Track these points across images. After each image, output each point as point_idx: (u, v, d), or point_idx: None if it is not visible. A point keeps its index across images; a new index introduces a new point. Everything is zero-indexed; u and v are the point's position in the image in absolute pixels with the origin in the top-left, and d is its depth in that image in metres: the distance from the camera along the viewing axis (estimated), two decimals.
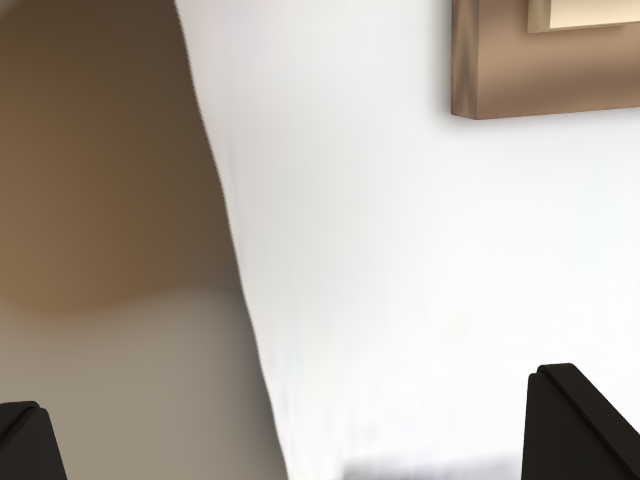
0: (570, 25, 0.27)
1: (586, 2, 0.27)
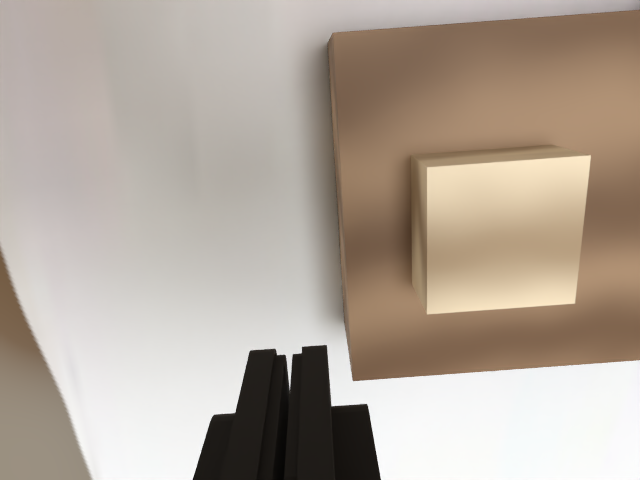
0: (455, 310, 0.20)
1: (476, 284, 0.19)
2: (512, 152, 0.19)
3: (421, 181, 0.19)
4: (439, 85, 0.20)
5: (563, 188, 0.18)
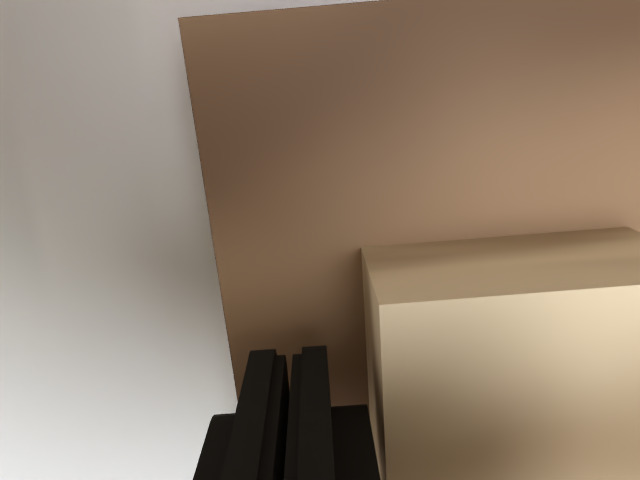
0: None
1: None
2: (557, 251, 0.10)
3: (373, 318, 0.09)
4: (397, 119, 0.10)
5: None
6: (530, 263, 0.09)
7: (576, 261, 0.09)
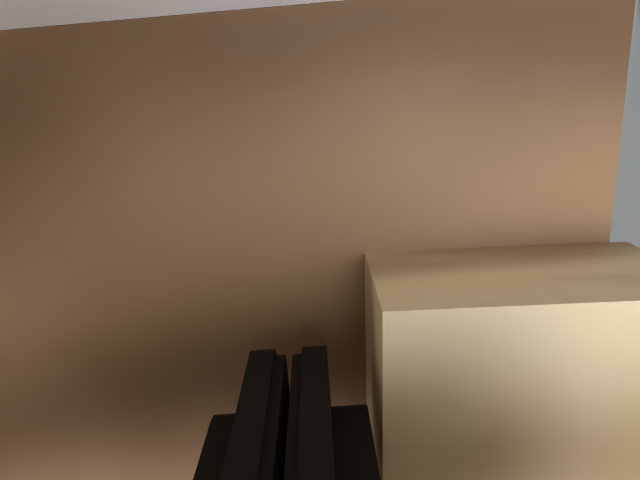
0: None
1: None
2: (558, 264, 0.10)
3: (375, 324, 0.09)
4: (64, 144, 0.10)
5: None
6: (531, 275, 0.09)
7: (576, 275, 0.09)
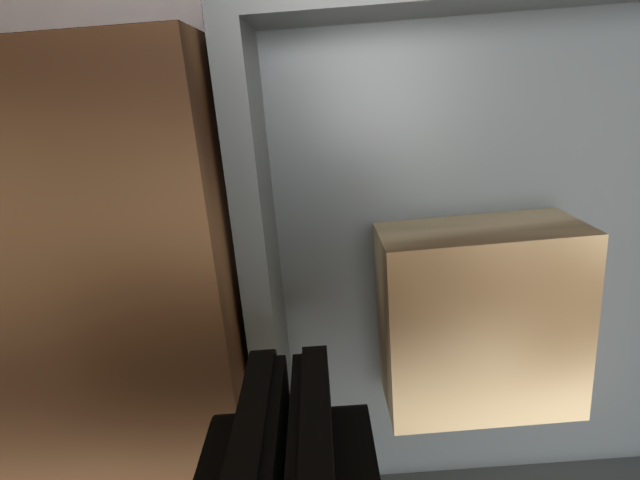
0: None
1: None
2: (453, 233, 0.14)
3: None
4: None
5: None
6: (474, 226, 0.15)
7: (445, 227, 0.15)
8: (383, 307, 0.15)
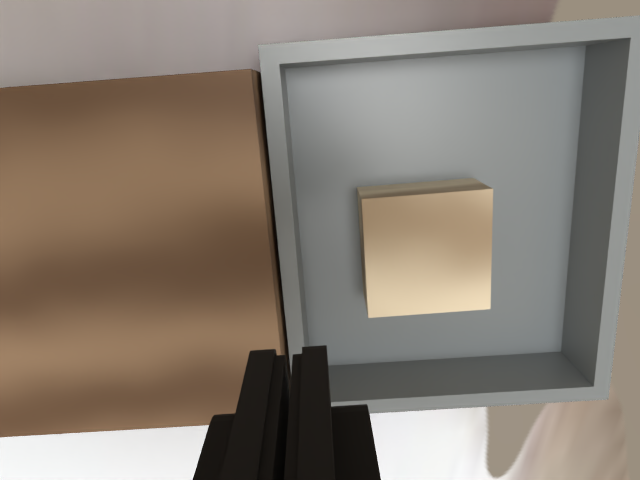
0: None
1: None
2: (404, 190, 0.23)
3: None
4: None
5: None
6: (418, 187, 0.24)
7: (400, 188, 0.24)
8: (362, 237, 0.24)
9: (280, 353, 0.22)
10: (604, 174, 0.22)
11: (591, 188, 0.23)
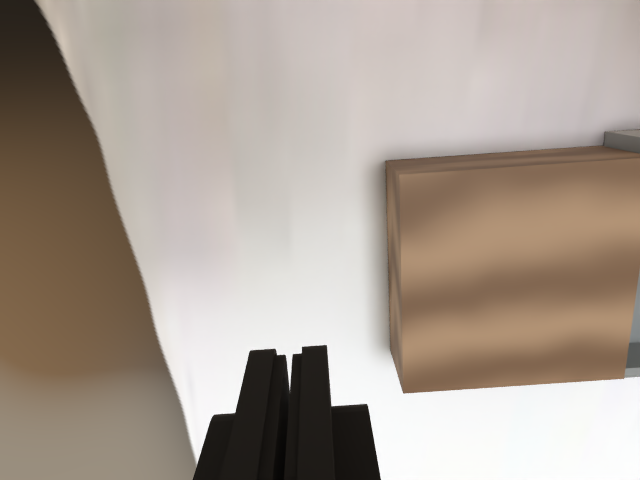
0: None
1: None
2: None
3: None
4: (465, 205, 0.31)
5: None
6: None
7: None
8: None
9: (629, 333, 0.34)
10: None
11: None
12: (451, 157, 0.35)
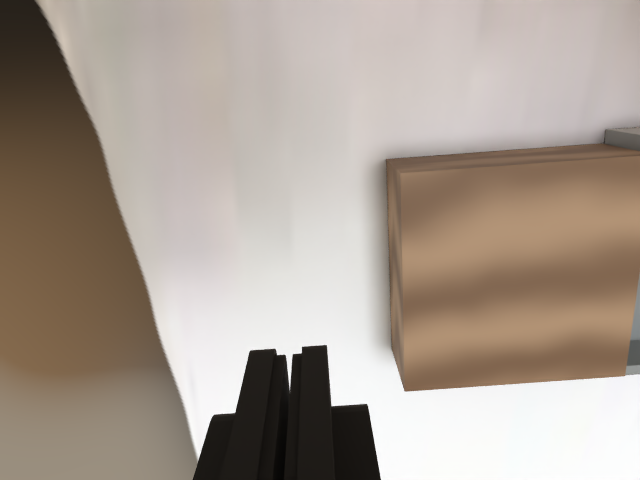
0: None
1: None
2: None
3: None
4: (466, 203, 0.31)
5: None
6: None
7: None
8: None
9: (630, 331, 0.34)
10: None
11: None
12: (452, 155, 0.35)
